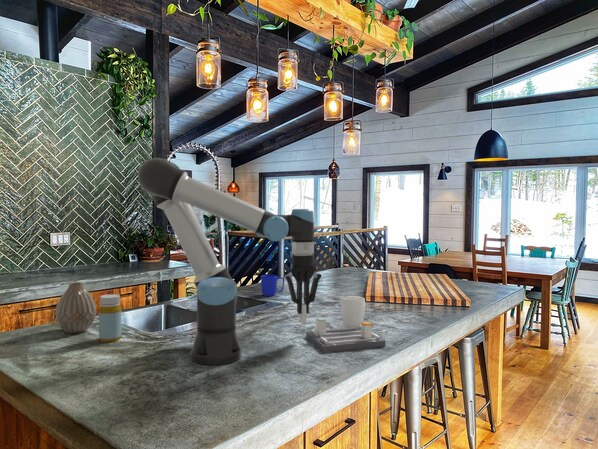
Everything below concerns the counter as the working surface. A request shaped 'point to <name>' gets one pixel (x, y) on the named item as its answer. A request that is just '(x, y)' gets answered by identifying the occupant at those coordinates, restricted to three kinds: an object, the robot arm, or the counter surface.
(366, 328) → the fader
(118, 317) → the bottle
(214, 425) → the counter surface
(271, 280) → the mug
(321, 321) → the block
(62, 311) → the vase
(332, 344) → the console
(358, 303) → the cup
